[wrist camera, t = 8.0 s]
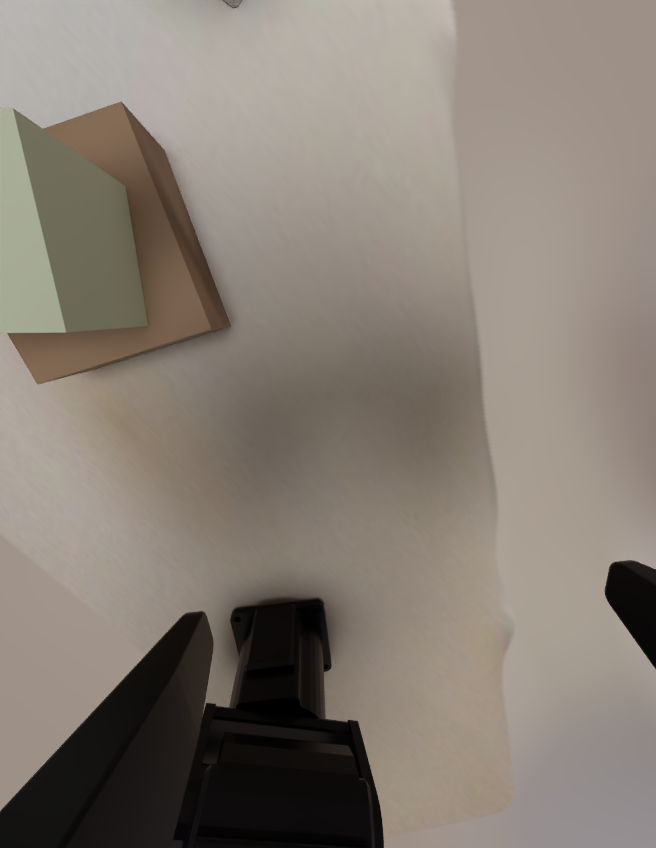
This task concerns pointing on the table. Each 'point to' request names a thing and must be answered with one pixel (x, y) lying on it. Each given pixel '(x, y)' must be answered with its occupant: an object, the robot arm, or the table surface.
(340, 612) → the table surface
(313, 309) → the table surface
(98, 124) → the walnut block
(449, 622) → the table surface
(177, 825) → the robot arm
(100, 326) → the sage cube
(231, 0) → the light bulb box
